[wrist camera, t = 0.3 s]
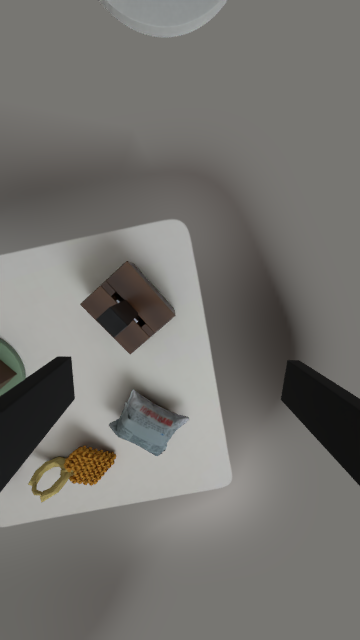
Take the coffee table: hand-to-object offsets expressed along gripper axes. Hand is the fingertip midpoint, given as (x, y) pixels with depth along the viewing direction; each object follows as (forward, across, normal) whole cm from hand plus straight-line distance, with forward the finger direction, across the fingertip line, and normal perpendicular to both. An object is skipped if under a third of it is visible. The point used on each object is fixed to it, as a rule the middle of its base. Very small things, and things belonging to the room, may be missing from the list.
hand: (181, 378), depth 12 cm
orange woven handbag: (+22, -18, -29) cm, 41 cm away
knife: (+22, -7, +1) cm, 23 cm away
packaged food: (+22, -4, -19) cm, 29 cm away
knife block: (+22, -7, +1) cm, 23 cm away
